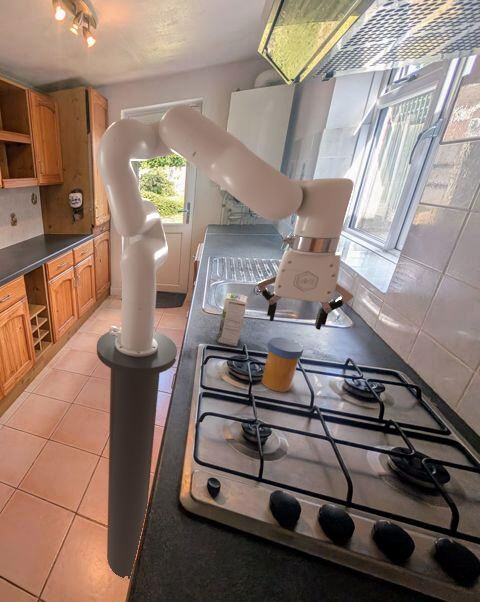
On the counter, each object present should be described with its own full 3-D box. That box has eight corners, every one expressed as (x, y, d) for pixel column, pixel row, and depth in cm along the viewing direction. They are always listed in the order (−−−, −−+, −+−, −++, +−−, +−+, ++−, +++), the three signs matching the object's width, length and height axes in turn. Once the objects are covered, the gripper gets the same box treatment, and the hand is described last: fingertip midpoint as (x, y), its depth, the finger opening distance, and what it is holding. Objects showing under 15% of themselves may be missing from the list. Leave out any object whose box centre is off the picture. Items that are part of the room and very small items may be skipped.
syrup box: (219, 334, 97) (226, 292, 91) (239, 338, 94) (248, 295, 88) (216, 342, 92) (224, 298, 87) (238, 347, 89) (247, 302, 84)
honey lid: (266, 353, 69) (268, 347, 68) (268, 341, 74) (269, 334, 73) (302, 362, 65) (304, 355, 65) (301, 348, 71) (303, 341, 70)
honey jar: (260, 386, 72) (270, 348, 68) (262, 373, 77) (271, 337, 73) (290, 395, 69) (301, 355, 65) (290, 381, 74) (301, 343, 70)
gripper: (262, 244, 62) (247, 321, 68) (375, 252, 53) (346, 339, 59) (264, 238, 68) (251, 309, 74) (367, 244, 59) (341, 324, 65)
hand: (293, 322), depth 67 cm, fingers open, 8 cm apart
